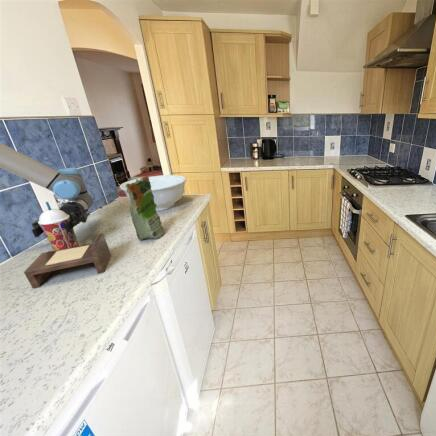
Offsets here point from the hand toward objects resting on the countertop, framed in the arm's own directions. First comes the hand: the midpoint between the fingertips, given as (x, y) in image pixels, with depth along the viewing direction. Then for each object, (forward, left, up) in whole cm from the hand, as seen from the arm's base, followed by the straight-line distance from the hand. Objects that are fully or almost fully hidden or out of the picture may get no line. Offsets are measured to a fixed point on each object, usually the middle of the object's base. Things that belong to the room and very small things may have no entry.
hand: (51, 231), depth 83 cm
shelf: (+6, -10, -12) cm, 17 cm away
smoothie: (0, +5, -11) cm, 12 cm away
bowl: (+30, +46, -12) cm, 56 cm away
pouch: (+28, +6, -12) cm, 31 cm away
